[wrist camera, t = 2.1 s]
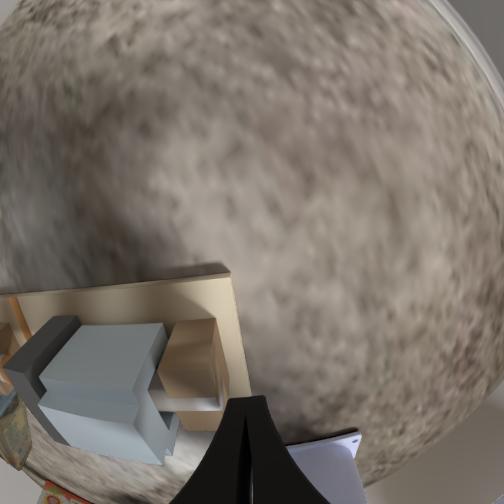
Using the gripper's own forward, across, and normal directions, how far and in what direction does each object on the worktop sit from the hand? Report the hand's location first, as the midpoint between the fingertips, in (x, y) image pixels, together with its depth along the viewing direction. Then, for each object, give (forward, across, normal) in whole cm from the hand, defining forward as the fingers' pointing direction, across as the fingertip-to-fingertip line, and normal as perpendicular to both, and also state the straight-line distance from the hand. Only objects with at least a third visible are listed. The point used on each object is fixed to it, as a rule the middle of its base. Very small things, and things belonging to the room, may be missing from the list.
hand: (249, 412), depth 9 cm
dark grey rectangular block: (+5, +10, 0) cm, 11 cm away
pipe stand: (+5, +10, 0) cm, 11 cm away
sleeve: (+4, +6, 0) cm, 7 cm away
